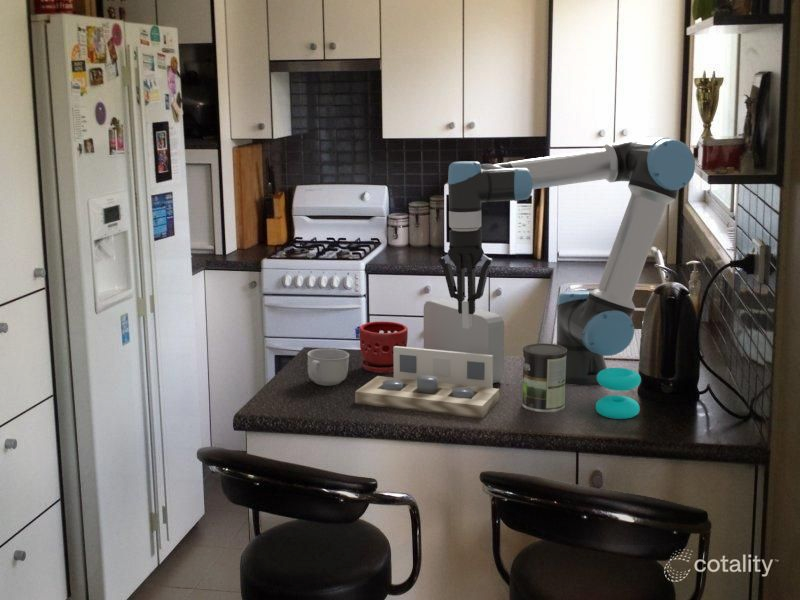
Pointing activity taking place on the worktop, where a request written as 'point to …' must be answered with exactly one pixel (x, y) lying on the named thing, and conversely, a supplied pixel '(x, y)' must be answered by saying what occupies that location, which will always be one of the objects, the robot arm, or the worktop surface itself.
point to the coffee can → (544, 377)
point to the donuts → (618, 404)
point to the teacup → (327, 366)
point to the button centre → (427, 384)
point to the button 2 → (462, 392)
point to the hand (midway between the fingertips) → (466, 326)
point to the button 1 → (393, 385)
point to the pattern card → (444, 366)
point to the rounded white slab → (464, 332)
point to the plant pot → (381, 344)
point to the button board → (428, 398)
